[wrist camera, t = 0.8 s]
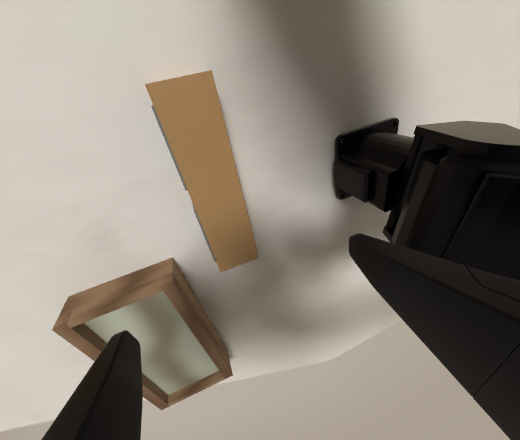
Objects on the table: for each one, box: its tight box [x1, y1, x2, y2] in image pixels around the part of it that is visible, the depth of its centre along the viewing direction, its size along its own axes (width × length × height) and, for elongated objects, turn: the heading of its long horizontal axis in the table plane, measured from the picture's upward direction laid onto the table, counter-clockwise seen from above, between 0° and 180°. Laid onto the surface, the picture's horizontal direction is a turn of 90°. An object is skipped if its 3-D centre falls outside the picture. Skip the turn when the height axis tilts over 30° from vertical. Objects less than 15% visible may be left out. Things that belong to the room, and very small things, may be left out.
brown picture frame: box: [52, 258, 233, 410], centre depth 24 cm, size 9×18×3 cm, turn 13°
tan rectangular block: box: [145, 70, 259, 272], centre depth 17 cm, size 4×14×4 cm, turn 11°
